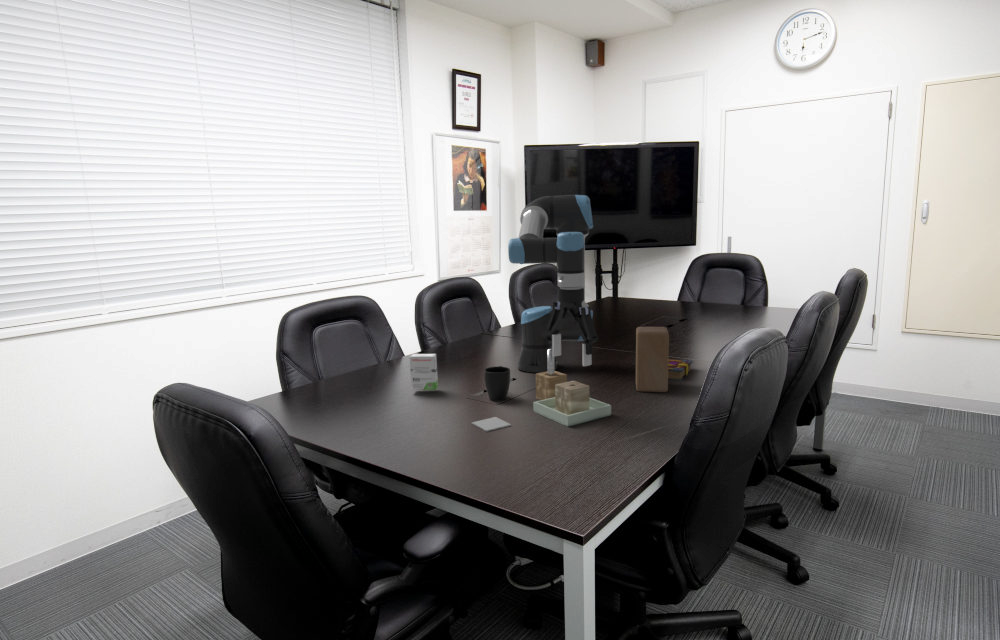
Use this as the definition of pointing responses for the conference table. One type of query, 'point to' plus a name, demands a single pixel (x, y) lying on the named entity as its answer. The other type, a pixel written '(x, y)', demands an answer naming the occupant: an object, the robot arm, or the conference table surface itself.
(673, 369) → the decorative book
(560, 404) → the maple block
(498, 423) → the mat
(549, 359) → the steel pin
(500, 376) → the mug
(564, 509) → the conference table surface
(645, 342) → the block
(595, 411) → the sage tray
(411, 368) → the ink box
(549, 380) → the oak block
